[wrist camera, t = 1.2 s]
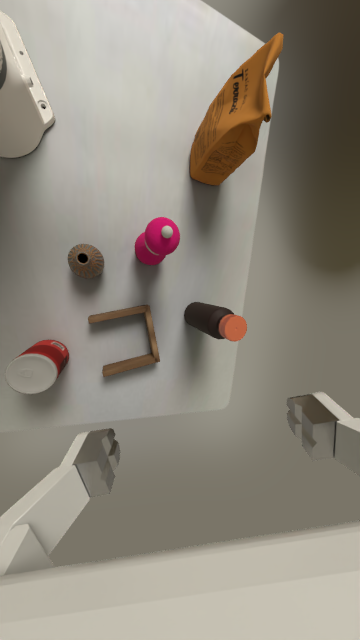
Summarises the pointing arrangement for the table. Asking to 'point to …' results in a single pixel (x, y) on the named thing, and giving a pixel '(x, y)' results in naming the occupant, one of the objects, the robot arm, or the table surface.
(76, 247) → the vase
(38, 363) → the canned food
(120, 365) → the bay
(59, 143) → the table surface
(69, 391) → the table surface
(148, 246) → the pepper mill
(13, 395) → the table surface
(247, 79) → the coffee package
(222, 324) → the bottle
